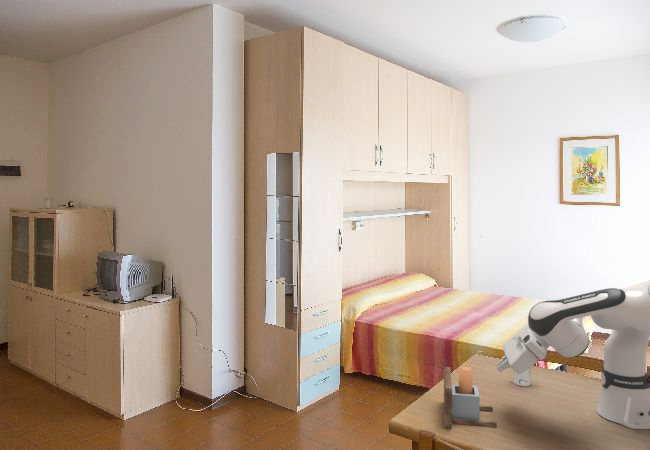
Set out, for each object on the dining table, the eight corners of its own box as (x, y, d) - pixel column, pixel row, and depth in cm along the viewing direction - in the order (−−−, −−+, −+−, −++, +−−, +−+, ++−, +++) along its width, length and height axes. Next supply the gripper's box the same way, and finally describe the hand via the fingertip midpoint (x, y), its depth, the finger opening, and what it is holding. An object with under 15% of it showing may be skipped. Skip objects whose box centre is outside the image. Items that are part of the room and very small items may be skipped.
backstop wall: (491, 406, 163) (491, 370, 162) (498, 432, 145) (498, 392, 144) (443, 402, 166) (444, 366, 165) (444, 427, 149) (445, 388, 148)
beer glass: (514, 378, 186) (515, 338, 185) (534, 382, 182) (535, 341, 181) (509, 384, 181) (510, 343, 180) (529, 388, 177) (530, 346, 176)
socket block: (477, 410, 159) (477, 386, 159) (479, 422, 151) (479, 396, 151) (450, 408, 161) (450, 384, 160) (451, 420, 153) (451, 394, 152)
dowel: (471, 411, 157) (472, 367, 157) (471, 416, 153) (472, 371, 153) (458, 409, 158) (459, 366, 158) (457, 414, 155) (458, 369, 154)
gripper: (519, 323, 163) (487, 350, 166) (530, 342, 143) (494, 373, 146) (533, 337, 162) (501, 364, 165) (546, 358, 143) (509, 389, 145)
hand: (497, 369), depth 156 cm, fingers closed
